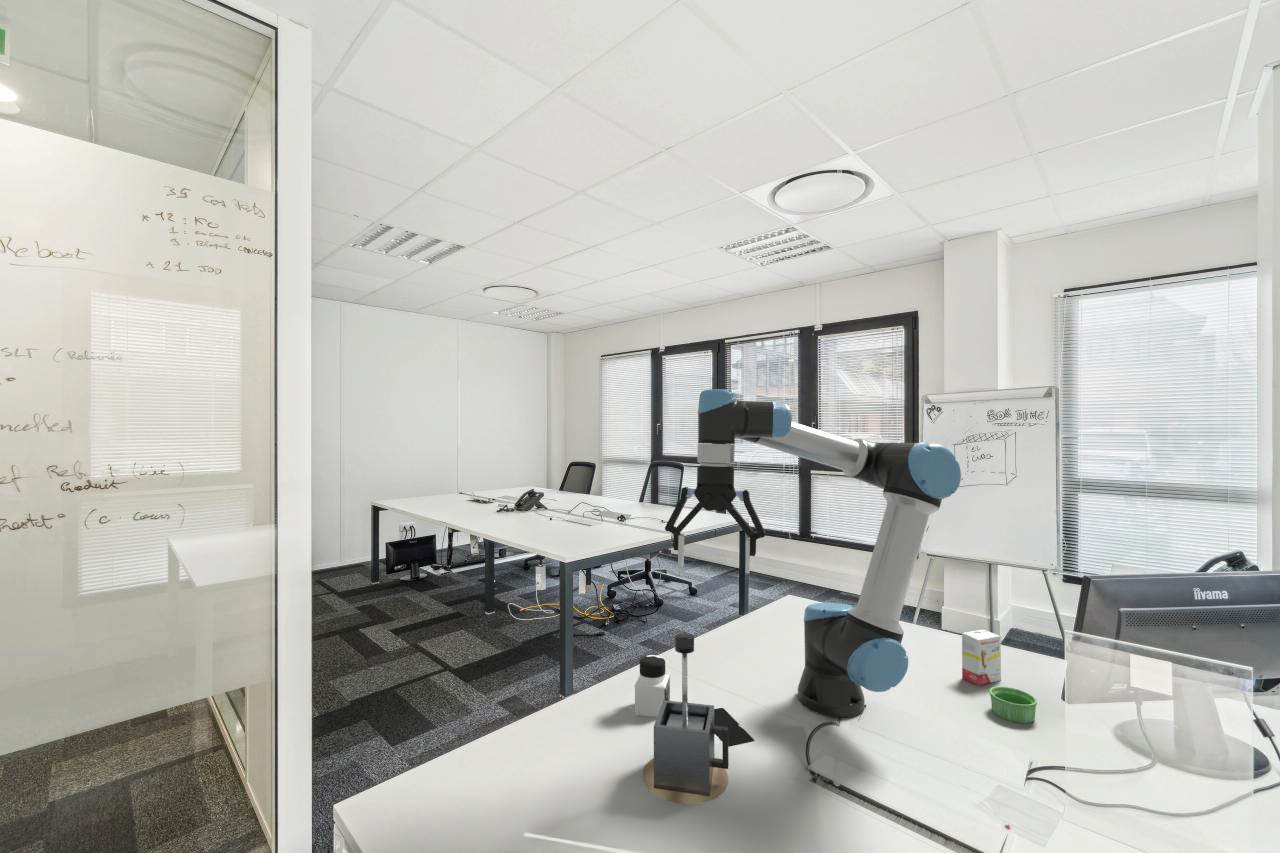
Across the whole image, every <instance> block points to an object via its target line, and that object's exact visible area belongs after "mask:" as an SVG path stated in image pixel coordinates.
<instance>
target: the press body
mask: <svg viewBox="0 0 1280 853" xmlns="http://www.w3.org/2000/svg"><path fill="white" fill-rule="evenodd" d="M714 709H715V705H711V704H701V703H695V702H694V703H693V702H688V716H695V717H704V718H705V724H704V729H703V730H698V729H690V728H682V727H673V726H666V725H667V722H668V719H669V716H670V714H677V715H682V701H675V700H674V701H673V700H670V701H667V700H664V701H663V703H662V706H661V708H660V711H659V714H658V716H657V717H656V719H655V723H654V725H653V758H654V788H656V789H663V790H669V791H676V792H683V793H690V794H697V795H704V796H710V790H711V783H712V776H713V770H714V767H716V768H723V769H726V770H729V759H730V758H729V747H728V727H723V726H715V725H714ZM715 735H716V736H717V735H722V741H721V742H722V758H717V757H715Z"/></svg>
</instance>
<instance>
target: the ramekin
mask: <svg viewBox="0 0 1280 853" xmlns="http://www.w3.org/2000/svg"><path fill="white" fill-rule="evenodd" d="M988 693H989V696H990V701H991V702H990V703H991V709H992V711H993V713H994V714H995V715H997V716H999V718H1002V719H1004V720H1006V721H1010V722H1013V723H1021V724H1028V723H1032V722H1034V721H1035V719H1036V708H1037V704H1038V701H1037V698H1036V697H1035V696H1034V695H1032V694H1030V693H1029V692H1026V691H1024V690H1021V689H1019V688H1014V687H1009V686H998V685H997V686H994V687H993V686H992V687H991V688H989V692H988Z"/></svg>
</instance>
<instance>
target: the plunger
mask: <svg viewBox="0 0 1280 853" xmlns="http://www.w3.org/2000/svg"><path fill="white" fill-rule="evenodd" d="M674 651H675V652H677V653H679V654H681V699H682V700H681V702H682V715H677V714H670V716H669V719H668V722H667V725H666V726H673V727H682V728H690V729H698V730H703V729H704V724H705V718H704V717H695V716H688V703H689V702H688V701H689V700H688V696H689V695H688V654H691V653H694V652H695V636H694V635H693V634H690V633H678V634H676V635H675V636H674Z"/></svg>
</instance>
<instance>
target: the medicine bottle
mask: <svg viewBox="0 0 1280 853" xmlns="http://www.w3.org/2000/svg"><path fill="white" fill-rule="evenodd" d="M670 678H671V677H670V674H667V673H666V660H665V659H664V658H663V657H662V656H659V655H656V654H654V655H653V654H651V655H650V654H649V655H645V656H643V657H642V658H641V659H640V660H639V675H638V678H637V680H636V682H635V685H634V715H635V716H645V717H656V718H657V716H658V714H659V711H660V708H661V706H662V703H663V701H664V700H667V701H671V699H670V698H671V694H670V693H671V688H670V686H671V685H670V684H671V682H670V681H671V679H670Z"/></svg>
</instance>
